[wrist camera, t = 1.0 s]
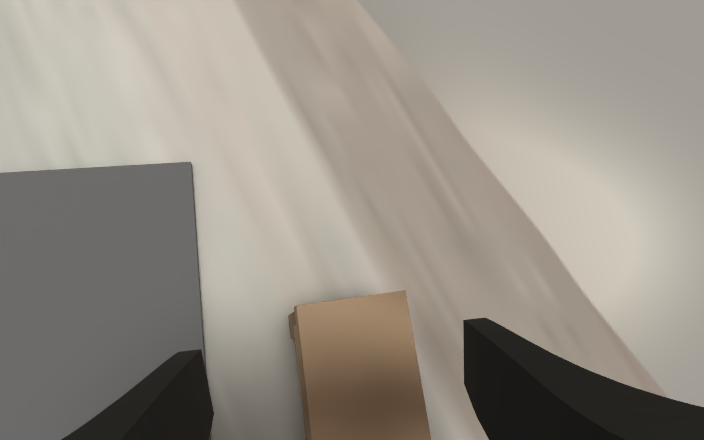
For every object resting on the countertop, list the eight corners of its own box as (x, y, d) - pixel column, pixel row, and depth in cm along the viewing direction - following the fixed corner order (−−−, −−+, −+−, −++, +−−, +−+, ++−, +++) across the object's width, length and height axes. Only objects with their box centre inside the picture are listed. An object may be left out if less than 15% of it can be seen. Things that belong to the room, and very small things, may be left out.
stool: (404, 490, 23) (447, 536, 18) (310, 513, 22) (327, 570, 17) (374, 299, 25) (405, 290, 20) (287, 311, 24) (296, 305, 19)
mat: (218, 560, 21) (217, 564, 20) (-277, 690, 17) (-290, 698, 16) (191, 164, 25) (190, 161, 25) (-205, 188, 21) (-213, 185, 21)
